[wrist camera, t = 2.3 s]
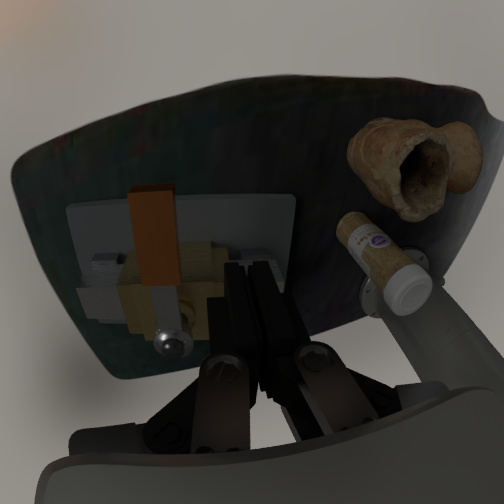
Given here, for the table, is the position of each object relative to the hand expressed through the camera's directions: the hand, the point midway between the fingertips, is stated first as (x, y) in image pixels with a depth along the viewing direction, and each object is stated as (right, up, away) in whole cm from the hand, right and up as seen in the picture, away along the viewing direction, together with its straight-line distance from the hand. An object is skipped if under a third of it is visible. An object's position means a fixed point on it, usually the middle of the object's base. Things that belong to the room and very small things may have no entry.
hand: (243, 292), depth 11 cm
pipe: (+17, +14, +17) cm, 28 cm away
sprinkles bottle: (+12, +5, +21) cm, 25 cm away
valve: (-8, 0, +19) cm, 20 cm away
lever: (-6, -1, +8) cm, 10 cm away
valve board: (-8, 0, +20) cm, 22 cm away
